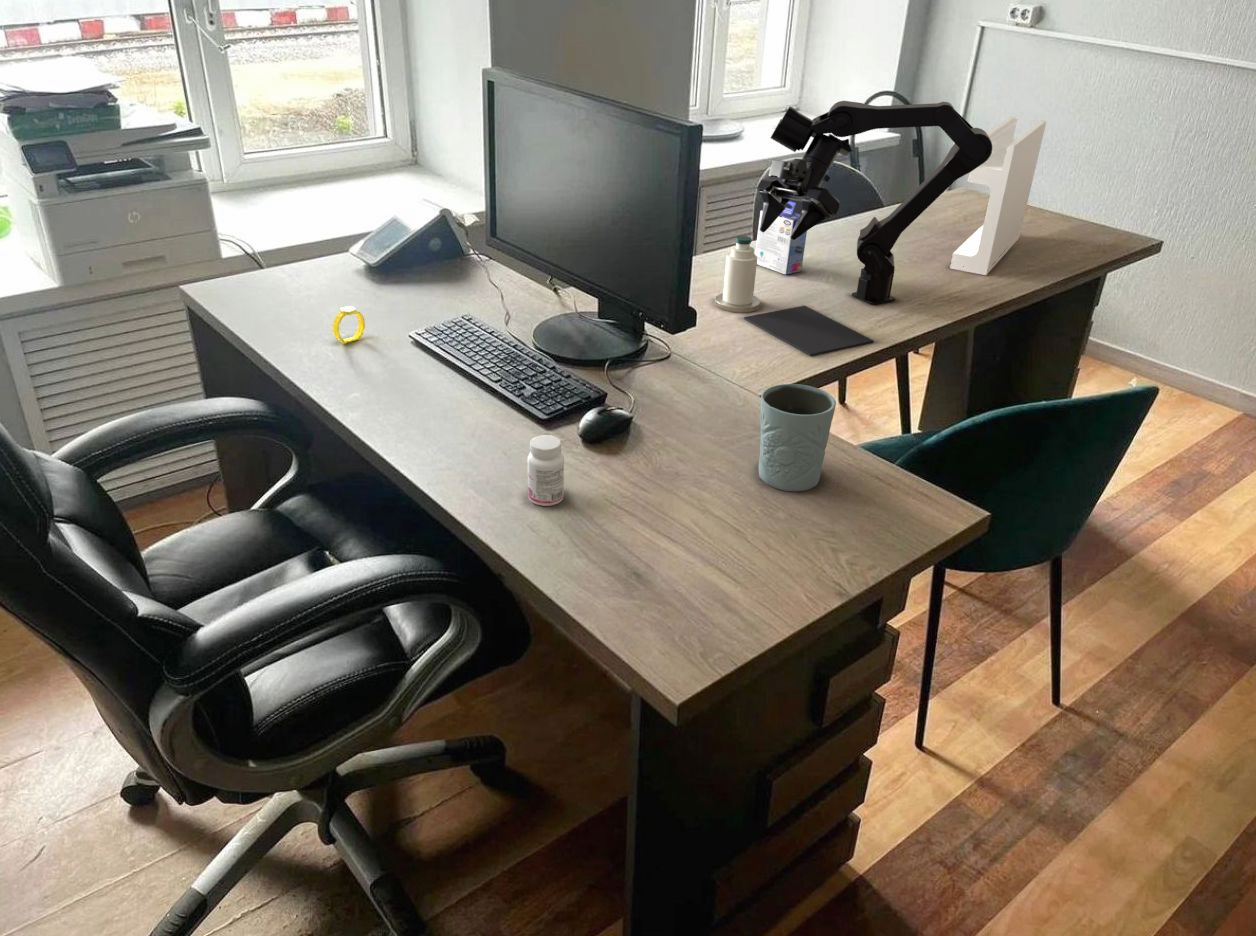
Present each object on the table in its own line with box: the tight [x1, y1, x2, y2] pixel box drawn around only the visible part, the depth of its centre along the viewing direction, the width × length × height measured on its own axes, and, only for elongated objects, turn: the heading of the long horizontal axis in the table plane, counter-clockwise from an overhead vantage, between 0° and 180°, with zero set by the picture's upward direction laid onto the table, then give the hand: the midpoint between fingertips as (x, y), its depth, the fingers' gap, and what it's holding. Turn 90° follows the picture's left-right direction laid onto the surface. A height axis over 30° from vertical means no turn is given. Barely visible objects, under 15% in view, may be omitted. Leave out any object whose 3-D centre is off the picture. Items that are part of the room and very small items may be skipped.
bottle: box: [722, 235, 758, 305], centre depth 197 cm, size 6×6×12 cm
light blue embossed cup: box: [758, 383, 837, 492], centre depth 139 cm, size 10×10×12 cm
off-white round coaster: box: [714, 292, 761, 313], centre depth 200 cm, size 9×9×1 cm
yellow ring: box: [332, 305, 366, 344], centre depth 176 cm, size 6×3×6 cm, turn 142°
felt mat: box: [743, 305, 874, 357], centre depth 190 cm, size 15×20×1 cm
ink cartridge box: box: [754, 200, 808, 275], centre depth 218 cm, size 10×6×14 cm, turn 41°
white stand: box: [949, 116, 1047, 276], centre depth 231 cm, size 35×8×28 cm, turn 150°
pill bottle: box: [527, 434, 565, 507], centre depth 132 cm, size 5×5×8 cm
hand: (776, 235), depth 196 cm, fingers open, 9 cm apart
